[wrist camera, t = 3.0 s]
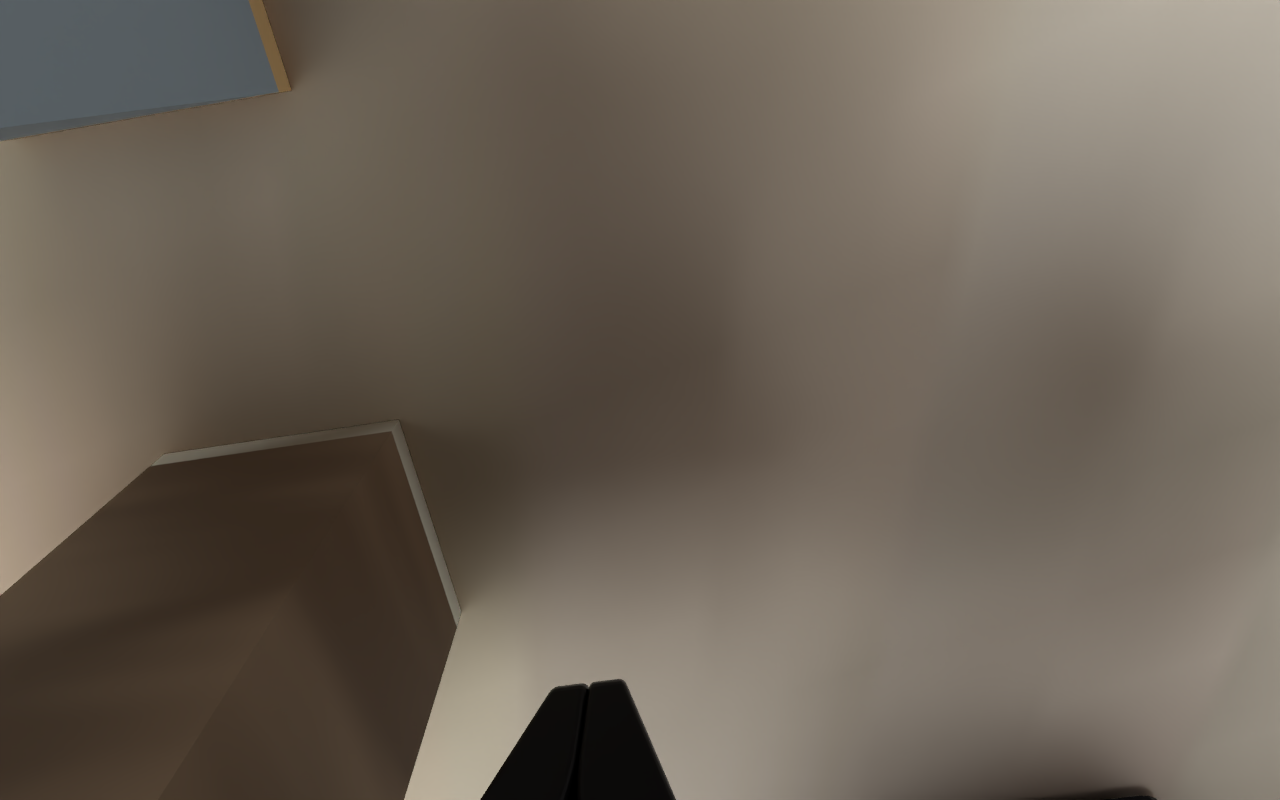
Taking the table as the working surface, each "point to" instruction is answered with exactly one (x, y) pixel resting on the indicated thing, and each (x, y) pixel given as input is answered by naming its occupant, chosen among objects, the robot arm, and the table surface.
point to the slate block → (129, 60)
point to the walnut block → (233, 631)
